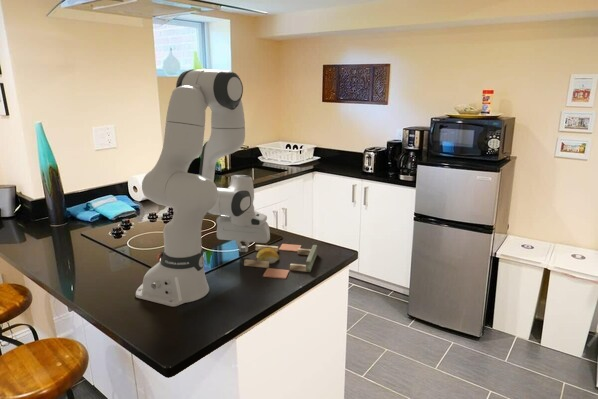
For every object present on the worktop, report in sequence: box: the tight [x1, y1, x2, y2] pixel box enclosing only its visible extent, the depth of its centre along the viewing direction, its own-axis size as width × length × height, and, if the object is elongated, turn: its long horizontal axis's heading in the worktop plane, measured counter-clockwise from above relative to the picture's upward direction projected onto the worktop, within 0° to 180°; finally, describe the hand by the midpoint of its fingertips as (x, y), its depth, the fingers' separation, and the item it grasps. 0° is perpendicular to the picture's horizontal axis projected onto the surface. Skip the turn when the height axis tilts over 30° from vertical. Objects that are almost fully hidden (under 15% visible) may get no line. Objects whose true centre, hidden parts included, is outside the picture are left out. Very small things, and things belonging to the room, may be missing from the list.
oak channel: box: [243, 244, 318, 273], centre depth 156 cm, size 24×15×4 cm, turn 79°
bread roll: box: [255, 248, 280, 265], centre depth 157 cm, size 8×9×4 cm
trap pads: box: [262, 243, 302, 280], centre depth 157 cm, size 8×29×1 cm, turn 169°
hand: (243, 251), depth 159 cm, fingers closed
